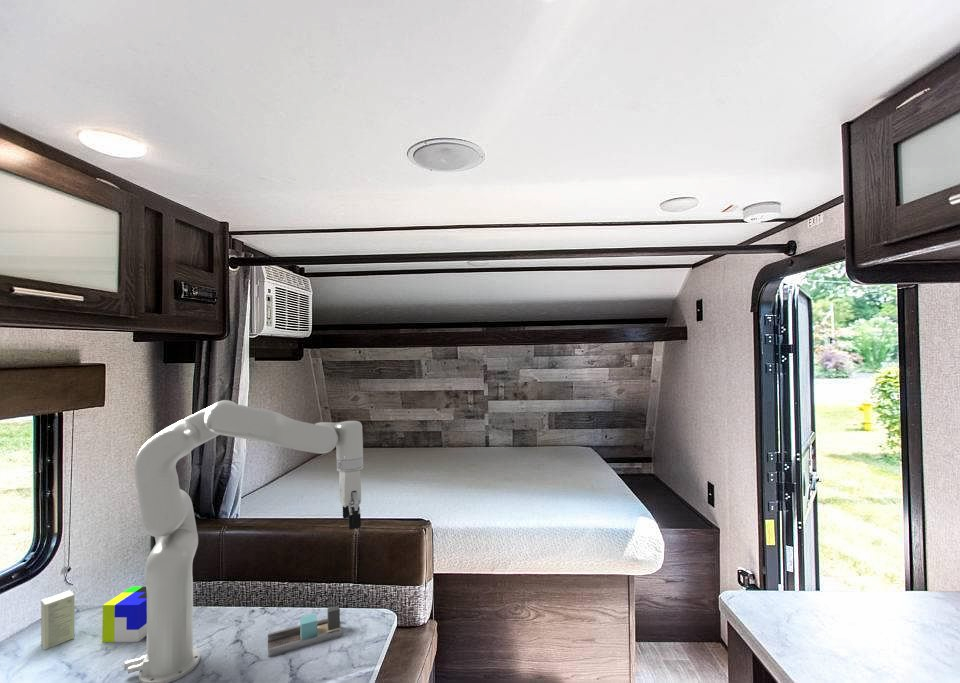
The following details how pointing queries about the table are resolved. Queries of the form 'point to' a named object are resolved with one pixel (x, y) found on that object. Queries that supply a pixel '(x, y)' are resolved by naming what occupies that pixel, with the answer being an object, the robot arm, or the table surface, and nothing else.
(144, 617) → the puzzle toy
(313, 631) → the cube
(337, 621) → the cream sled with handle
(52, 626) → the skincare box
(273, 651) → the board
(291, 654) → the table surface
